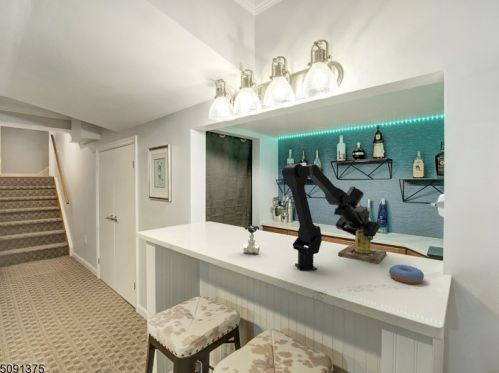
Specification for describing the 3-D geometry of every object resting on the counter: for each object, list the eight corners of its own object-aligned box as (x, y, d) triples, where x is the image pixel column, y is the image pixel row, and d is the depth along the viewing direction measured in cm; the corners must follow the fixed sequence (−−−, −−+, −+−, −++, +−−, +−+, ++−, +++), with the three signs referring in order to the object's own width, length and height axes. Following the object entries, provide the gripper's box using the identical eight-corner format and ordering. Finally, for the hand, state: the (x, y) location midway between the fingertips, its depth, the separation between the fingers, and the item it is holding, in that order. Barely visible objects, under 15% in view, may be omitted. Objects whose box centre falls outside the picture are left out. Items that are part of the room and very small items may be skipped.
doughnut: (429, 286, 80) (428, 271, 80) (393, 284, 82) (392, 269, 83) (418, 277, 89) (417, 264, 89) (386, 276, 92) (385, 263, 92)
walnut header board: (386, 254, 114) (386, 251, 114) (378, 263, 101) (378, 259, 101) (349, 248, 124) (349, 245, 124) (338, 255, 111) (338, 252, 111)
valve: (257, 256, 110) (257, 228, 109) (242, 255, 111) (242, 227, 111) (260, 252, 116) (260, 225, 116) (245, 251, 117) (246, 225, 117)
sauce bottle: (356, 256, 110) (357, 210, 110) (353, 252, 116) (353, 209, 116) (372, 257, 109) (373, 211, 108) (368, 253, 115) (369, 209, 115)
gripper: (378, 202, 102) (393, 227, 108) (340, 198, 118) (355, 220, 124) (364, 223, 98) (381, 248, 104) (327, 216, 114) (344, 238, 120)
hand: (365, 237), depth 113 cm, fingers open, 7 cm apart
